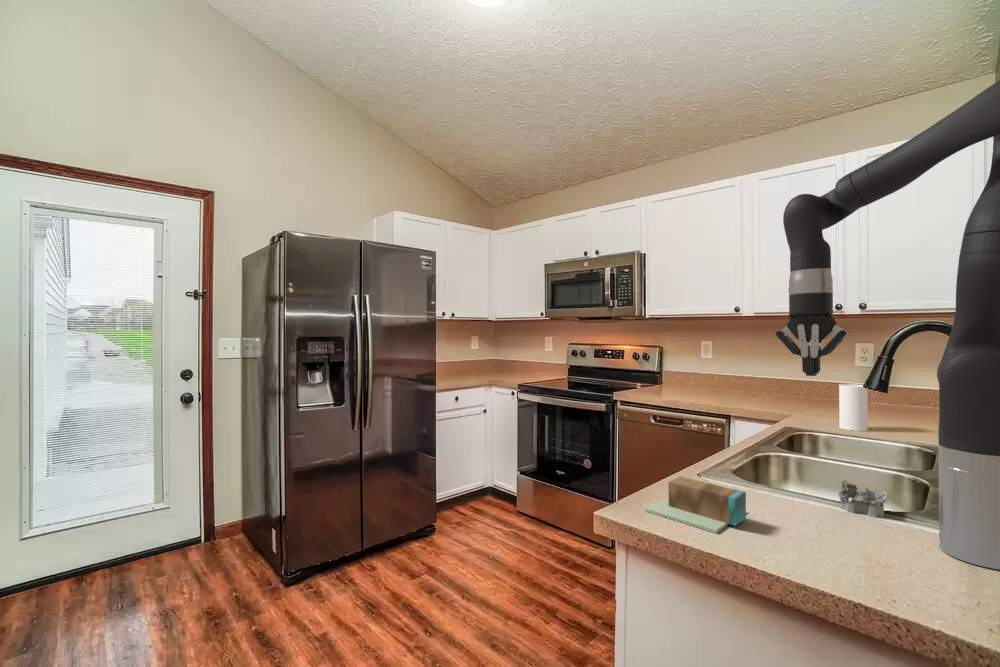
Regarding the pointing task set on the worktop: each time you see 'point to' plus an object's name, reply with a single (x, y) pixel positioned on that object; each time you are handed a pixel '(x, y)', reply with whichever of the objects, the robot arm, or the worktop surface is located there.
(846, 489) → the grey miniature model
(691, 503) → the walnut block
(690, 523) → the sage mat
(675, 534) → the worktop surface
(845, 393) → the cup
